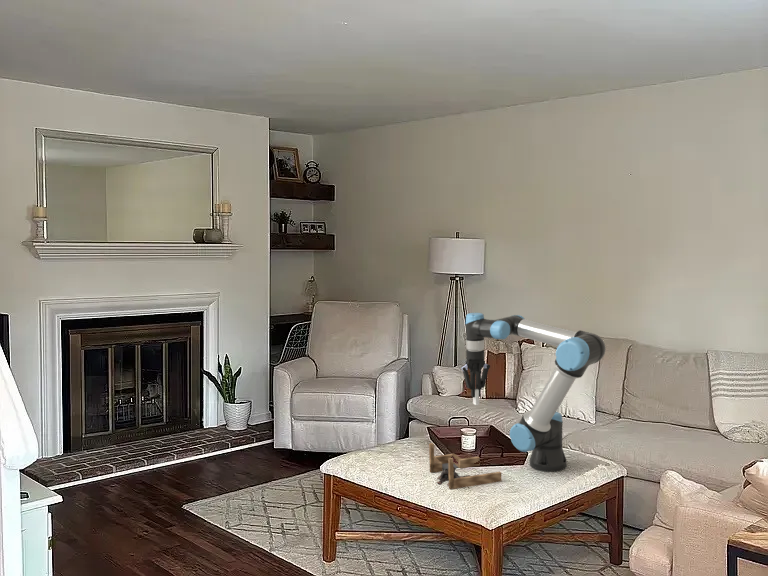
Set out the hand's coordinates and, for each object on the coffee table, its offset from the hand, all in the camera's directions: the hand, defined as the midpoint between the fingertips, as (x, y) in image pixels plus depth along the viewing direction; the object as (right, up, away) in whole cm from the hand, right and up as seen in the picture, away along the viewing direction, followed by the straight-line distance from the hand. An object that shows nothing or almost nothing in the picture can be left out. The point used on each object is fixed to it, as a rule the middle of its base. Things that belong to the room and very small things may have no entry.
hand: (476, 404), depth 328 cm
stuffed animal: (-12, -28, -20) cm, 36 cm away
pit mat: (-13, -25, -5) cm, 29 cm away
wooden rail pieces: (-8, -26, -13) cm, 30 cm away
